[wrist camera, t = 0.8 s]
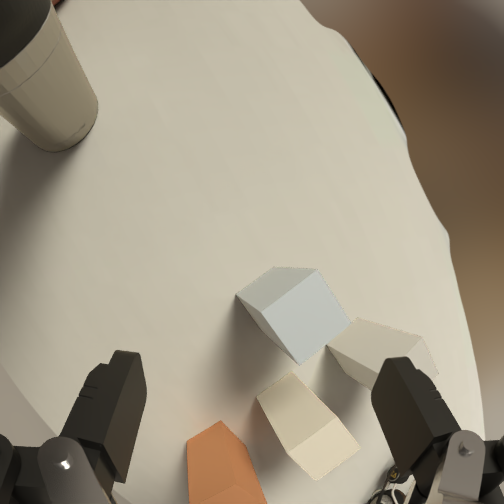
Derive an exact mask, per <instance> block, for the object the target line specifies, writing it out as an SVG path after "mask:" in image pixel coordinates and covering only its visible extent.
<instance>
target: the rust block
mask: <svg viewBox="0 0 504 504" xmlns="http://www.w3.org/2000/svg"><path fill="white" fill-rule="evenodd" d="M187 465H188V488H189V504H267V502H266V499H265V497H264V494H263V492H262V489H261V486H260V484H259V481H258V478H257V476H256V473H255V470H254V468H253V465H252V462H251V459H250V456H249V454H248V451H247V448H246V446H245V445H244V444H243V443H242V442H241V441H240V440H239V439H238V438H237V437H236V436H235V435H234V434H233V433H232V432H231V431H230V430H229V428H228V427H227V426H226V425H225V424H224V423H223V422H222V421H221V420H220V421H219V422H217V423H216V424H214V425H213V426H211V427H209V428H208V429H206V430H204V431H203V432H201V433H200V434H198V435H196V436H195V437H193V438H191V439H189V440H188V441H187Z"/></svg>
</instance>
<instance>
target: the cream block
mask: <svg viewBox="0 0 504 504" xmlns="http://www.w3.org/2000/svg"><path fill="white" fill-rule="evenodd" d="M256 397H257V399H258V401H259V403H260V405H261V407H262V409H263V411H264V412H265V414H266V416H267V418H268V420H269V422H270V424H271V425H272V427H273V429H274V431H275V433H276V435H277V436H278V438H279V440H280V442H281V444H282V445H283V447H284V449H285V451H286V452H287V454H288V455H289V456H290V457H291V458H292V459H293V460H294V461H295V462H296V463H297V464H298V465H299V466H300V467H301V468H302V469H303V470H304V471H305V472H307V473H308V474H309V475H310V476H311V477H312V478H313V479H314V480H315V481H317V480H318V479H320V478H321V477H323V476H324V475H326V474H327V473H328V472H330V471H331V470H333V469H334V468H335V467H337V466H338V465H340V464H341V463H342V462H344V461H345V460H346V459H347V458H349V457H350V456H351V455H353V454H354V453H355V452H356V451H358V450H359V449H360V448H361V447H360V446H359V444H358V443H357V442H356V440H355V439H354V438H353V437H352V435H351V434H350V433H349V431H348V430H347V429H346V427H345V426H344V425H343V423H342V422H341V421H340V420H339V418H338V417H337V416H336V415H335V414H334V413H333V412H332V411H331V410H330V409H329V408H328V407H327V406H326V405H325V404H324V403H323V402H322V401H321V400H320V399H319V398H318V397H317V396H316V395H315V394H314V393H313V392H312V391H311V390H310V389H309V388H308V387H307V386H306V385H305V384H304V383H303V382H302V381H301V380H300V379H299V378H298V377H297V376H296V375H295V374H294V373H293V372H292V371H291V372H290V373H288V374H287V375H286V376H284V377H283V378H281V379H280V380H279V381H277V382H276V383H275V384H273V385H272V386H271V387H269V388H268V389H266V390H265V391H263V392H262V393H261V394H259V395H258V396H256Z"/></svg>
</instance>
